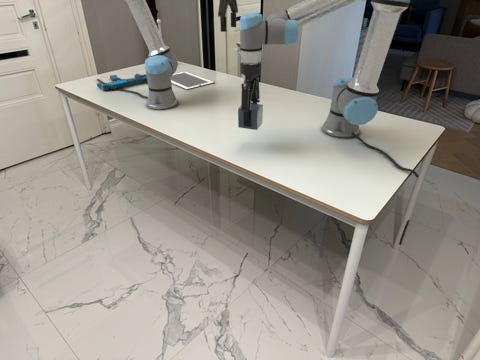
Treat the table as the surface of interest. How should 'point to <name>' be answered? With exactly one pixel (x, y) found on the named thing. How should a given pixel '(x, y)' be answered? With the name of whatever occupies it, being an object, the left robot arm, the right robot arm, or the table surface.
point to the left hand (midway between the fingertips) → (228, 29)
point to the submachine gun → (122, 82)
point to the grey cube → (252, 116)
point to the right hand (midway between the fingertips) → (250, 122)
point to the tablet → (188, 80)
